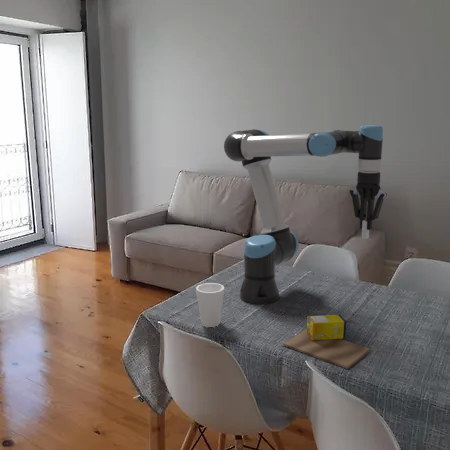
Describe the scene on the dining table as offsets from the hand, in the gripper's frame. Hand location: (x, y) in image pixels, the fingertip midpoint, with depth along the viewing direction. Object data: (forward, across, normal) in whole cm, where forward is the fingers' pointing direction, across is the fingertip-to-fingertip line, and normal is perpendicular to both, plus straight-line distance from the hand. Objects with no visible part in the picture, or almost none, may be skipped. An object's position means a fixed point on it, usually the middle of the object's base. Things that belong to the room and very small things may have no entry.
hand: (365, 238), depth 179 cm
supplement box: (+23, -6, +25) cm, 34 cm away
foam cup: (+27, +33, +45) cm, 62 cm away
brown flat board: (+26, -6, +36) cm, 45 cm away
